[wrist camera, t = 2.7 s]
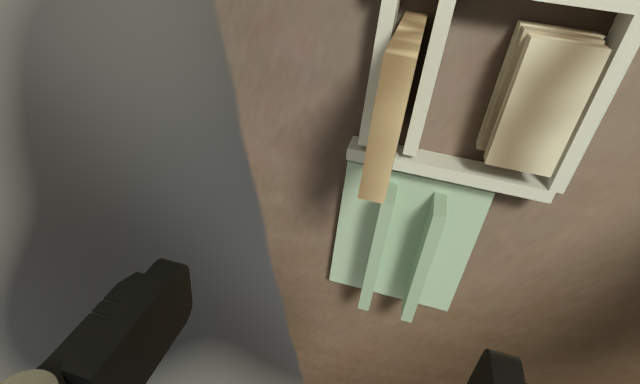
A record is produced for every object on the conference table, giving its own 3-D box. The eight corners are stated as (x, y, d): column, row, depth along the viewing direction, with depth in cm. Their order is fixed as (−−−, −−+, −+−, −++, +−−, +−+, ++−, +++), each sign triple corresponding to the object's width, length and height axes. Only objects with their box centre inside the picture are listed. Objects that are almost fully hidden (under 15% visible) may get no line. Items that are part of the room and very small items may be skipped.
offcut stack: (599, 31, 26) (618, 45, 24) (543, 155, 31) (553, 179, 29) (517, 19, 27) (526, 30, 24) (475, 142, 32) (478, 164, 29)
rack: (646, -8, 25) (664, -2, 23) (550, 187, 33) (557, 205, 31) (381, -43, 27) (376, -41, 25) (351, 145, 35) (345, 159, 33)
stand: (493, 187, 34) (499, 218, 30) (447, 303, 42) (447, 340, 38) (350, 156, 36) (338, 182, 32) (331, 273, 43) (320, 305, 40)
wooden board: (427, 14, 28) (416, 59, 19) (403, 121, 33) (383, 204, 23) (405, 10, 29) (383, 54, 19) (384, 118, 33) (357, 198, 23)
